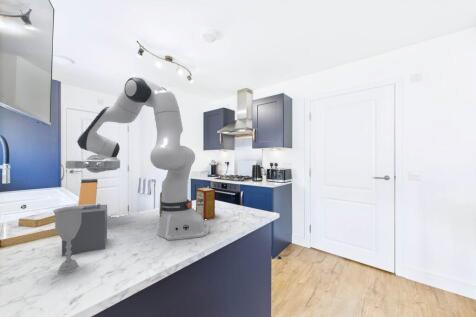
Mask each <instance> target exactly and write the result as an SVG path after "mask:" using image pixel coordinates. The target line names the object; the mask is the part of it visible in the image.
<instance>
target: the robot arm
mask: <svg viewBox="0 0 476 317" xmlns="http://www.w3.org/2000/svg"><path fill="white" fill-rule="evenodd" d="M144 106H146V107H148V108H149V107H150V108H152V109H153V114H154V120H155V128H156V141H155V146H154V147H153V148H152V149H151V152H150V154H149V155H150V156H149V159H150V162H151V164H152V165H153V166H154V167H155V168H156V169H159V170H163V171H167V172H166V175H165V178H164V179H163V181H162V183H161V191H162V201H161V204H160V203H159V213H160V212H161V218H160V219H159V220H160V221H159V227H158V230H157V235H158V236H159V237H161V238H164V239H165V240H167V241H175V240H184V239H185V240H186V239H193V238H203V237H205V236H207V235H208V234H209V233H210V232H209V231H210V226H209V225H208V224H206V223H205V220H204V219H203V216H202V215H201V214H200V213H198V212H197V211H196V209H194V208H193V201H192V200H190V199H188V191H189V190H188V188H189V187H188V185H189V177H190V173H191V171H192V170H191V169H192V166H193V164H194V163H195V160H196V154H195V152H194V150H192V149H191V148H189V147H188V146H186V145H181V135H182V133H183V131H184V130H183V129H184V127H183V123H182V118H181V116H182V115H181V112H180V107H179V103H178V101H177V98H176V95H175V94H174V93H173V92H172V91H170V90H167V89H166V88H164V87H163V86H160V85H158V84H157V83H154V82H152V81H149V80H145V79H143V78H140V77H137V76H135V77H133V76H132V77H129V78H128V80H126V82H125V84H124V88H123V90H122V91H121V92H120V94H119V96H118V97H117V99H116V101H115V103H114V104H113V105H112V106H105V107H104V108H102V109H101V111H99V113H98V114H97V115H96V116H95V117H94V119H93V120H92V121H91V122H90V124H89V126H88V127H86V129H85V130H84V131H83V132H82V133H81V134H80V135H79V136H78V138H77V141H76V142H77V145H78V147H79V148H80V149H81V150H85V151H87V152H91V153H93V154H91V155H89V156H88V157H87V158H86V159H67V160H65V169H69V170H70V169H75V170H76V169H86V170H87V171H89V172H90V173H94V174H98V173H102V172H109V171H116V170H118V169H121V160H120V158H118V155H119V152H120V144H119V142H116V141H114V140H112V139H110V138H108V137H106V136H103V135H101V134H99V133H98V132H97V131H99V129H100V128H101V127H102V125H103V124H104V123H107V122H109V123H118V124H129V123H133V122H134V121H135V120H136V119H137V117H138V116H139V114H140V113H141V111H142V108H143V107H144Z"/></svg>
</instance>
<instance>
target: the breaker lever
mask: <svg viewBox="0 0 476 317" xmlns="http://www.w3.org/2000/svg"><path fill="white" fill-rule="evenodd" d="M80 181H81V182H80V188H79V197H78V204H77V206H83V209H87V208H95V207H96V205H97V204H96V203H97V202H96V201H97V190H98V178H93V179H91V178H89V179H86V178H85V179H81V180H80Z"/></svg>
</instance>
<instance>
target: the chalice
mask: <svg viewBox="0 0 476 317" xmlns="http://www.w3.org/2000/svg"><path fill="white" fill-rule="evenodd" d="M82 209H83V206H78V205H72V206H70V205H69V206H64V207H59V208H56V209H55V208H54V209H53V210H52V212H53V213H54V218H55V219H54V227H55V231H56V232H57V235H58V236H59V237H60V238H61V241H62V240H63V241H66V242H67V244H66V247H65V248H66V250H67V251H66V253H65V255H66V256H65V257H66V259H65V261H63V262H61V263H60V266H59V267H58V270H57V272H56V274H58V275H68V274H70V273H73V272H75V271H77V270H78V269H80V265H79V263H78V262H77V260H76V259H74V258H71V253H72V251H71V250H70V249H71V247H72V245H71V243H70V242H71V240H72V239H74V238H75V236H76V234H77V232H78V230H79V228H80V225H81V211H82Z"/></svg>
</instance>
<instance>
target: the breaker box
mask: <svg viewBox="0 0 476 317" xmlns="http://www.w3.org/2000/svg"><path fill="white" fill-rule="evenodd" d="M107 240H108V204H101V203H97V204H96V207H95V208H87V209H82V211H81V225H80V228H79V230H78V232H77V234H76V236H75V238H74V239H72V240H71V242H70V243H71V245H72V247H71V249H70V250H71V251H72V253H71V255H76V254H77V255H78V254H81V253H88V252H94V251H99V250H104V249H106V245H107V242H108V241H107ZM66 244H67V242H66V241H63V240H62V239H61V257H66V255H65V253H66V251H67V250H66V248H65V247H66Z"/></svg>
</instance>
